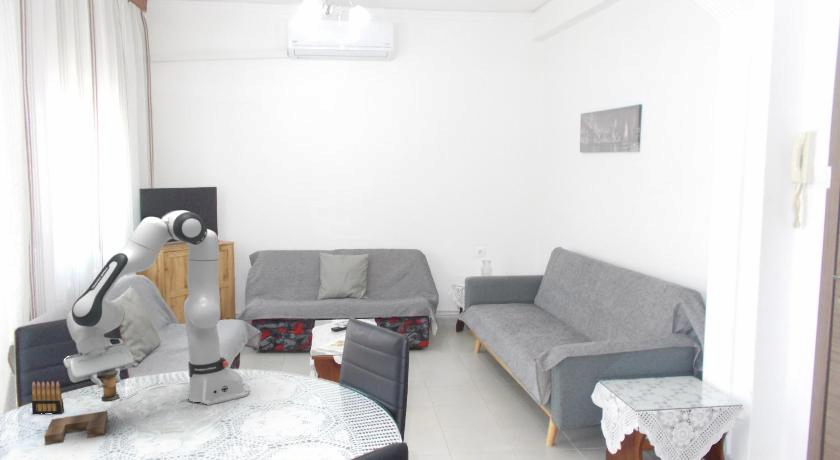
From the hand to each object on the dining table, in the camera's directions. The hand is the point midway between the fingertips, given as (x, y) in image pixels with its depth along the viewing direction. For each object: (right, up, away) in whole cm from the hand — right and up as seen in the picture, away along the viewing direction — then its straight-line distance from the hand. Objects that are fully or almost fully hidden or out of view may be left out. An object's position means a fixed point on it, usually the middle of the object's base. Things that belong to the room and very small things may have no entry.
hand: (110, 384), depth 206 cm
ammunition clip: (-32, -16, +20) cm, 41 cm away
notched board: (-13, -17, +4) cm, 22 cm away
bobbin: (0, -5, +1) cm, 5 cm away
